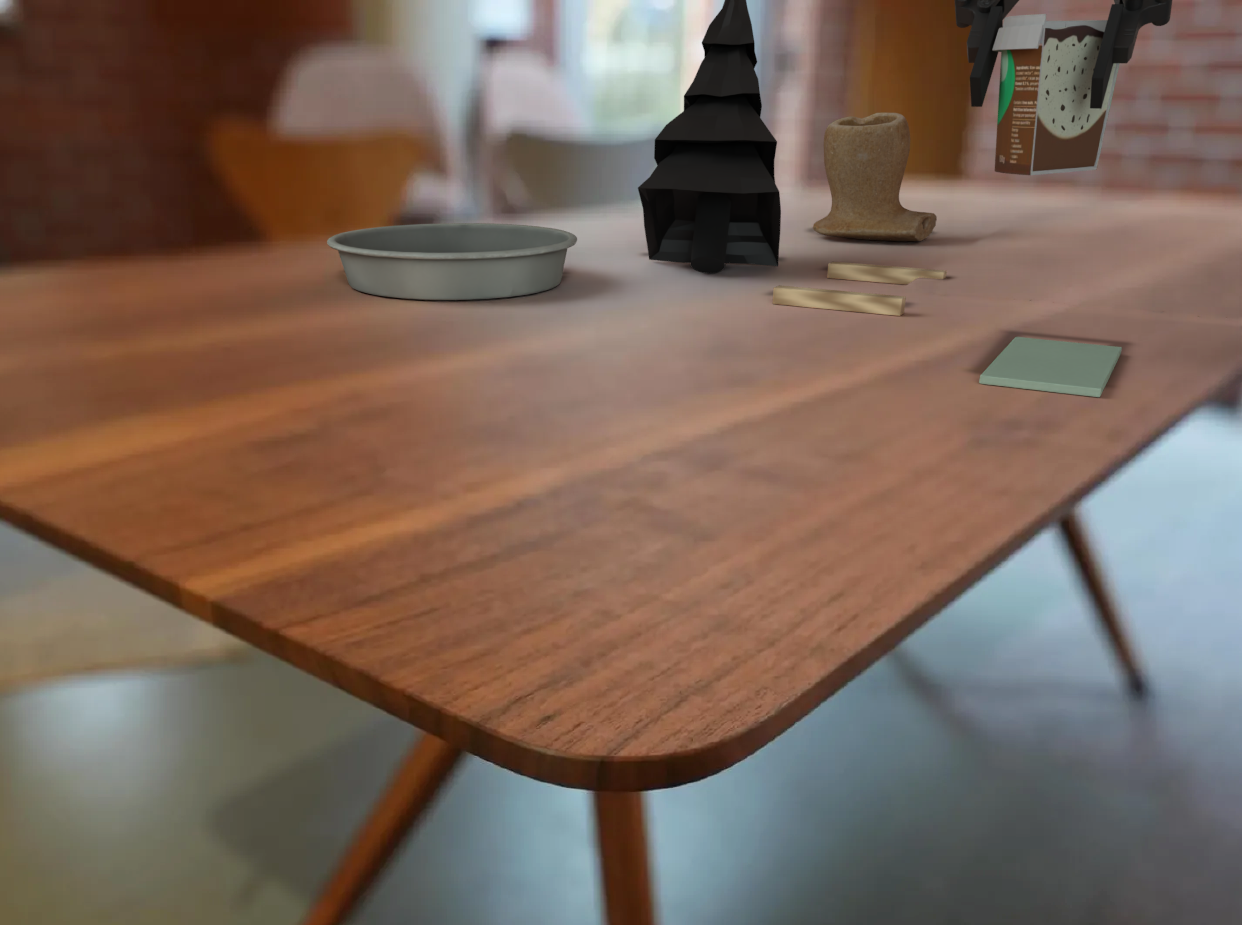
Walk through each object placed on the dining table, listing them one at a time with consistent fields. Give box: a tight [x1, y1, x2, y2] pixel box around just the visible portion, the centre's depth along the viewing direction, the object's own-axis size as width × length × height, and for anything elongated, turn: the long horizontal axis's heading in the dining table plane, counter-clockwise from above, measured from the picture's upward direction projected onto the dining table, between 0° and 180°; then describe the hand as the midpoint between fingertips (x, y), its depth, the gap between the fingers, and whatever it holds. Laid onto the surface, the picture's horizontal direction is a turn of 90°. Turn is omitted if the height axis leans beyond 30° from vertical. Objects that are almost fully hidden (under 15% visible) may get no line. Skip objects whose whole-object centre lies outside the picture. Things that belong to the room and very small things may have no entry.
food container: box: [992, 13, 1120, 176], centre depth 85 cm, size 12×6×10 cm, turn 131°
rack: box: [772, 261, 948, 317], centre depth 114 cm, size 12×19×2 cm, turn 153°
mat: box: [978, 336, 1123, 398], centre depth 86 cm, size 8×15×1 cm, turn 153°
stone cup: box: [812, 112, 938, 242], centre depth 147 cm, size 15×12×15 cm
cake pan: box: [326, 222, 578, 301], centre depth 117 cm, size 25×25×4 cm
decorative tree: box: [637, 0, 782, 274], centre depth 126 cm, size 15×15×35 cm
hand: (1035, 92), depth 81 cm, fingers closed on food container, 7 cm apart
